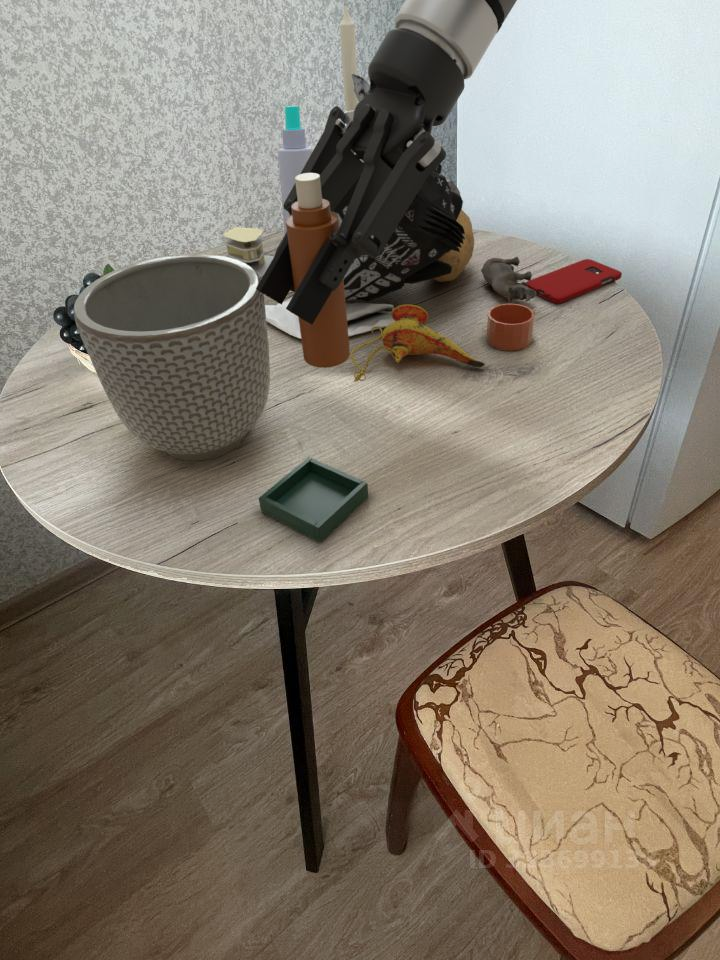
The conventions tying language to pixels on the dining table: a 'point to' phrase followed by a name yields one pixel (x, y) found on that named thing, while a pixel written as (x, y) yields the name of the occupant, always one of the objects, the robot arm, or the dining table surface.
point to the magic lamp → (413, 339)
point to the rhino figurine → (507, 279)
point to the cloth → (358, 313)
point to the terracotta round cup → (510, 326)
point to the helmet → (407, 236)
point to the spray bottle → (291, 154)
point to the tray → (314, 498)
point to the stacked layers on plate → (248, 248)
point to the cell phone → (573, 280)
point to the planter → (180, 350)
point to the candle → (348, 60)
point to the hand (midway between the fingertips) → (283, 306)
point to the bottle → (305, 238)
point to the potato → (460, 258)
